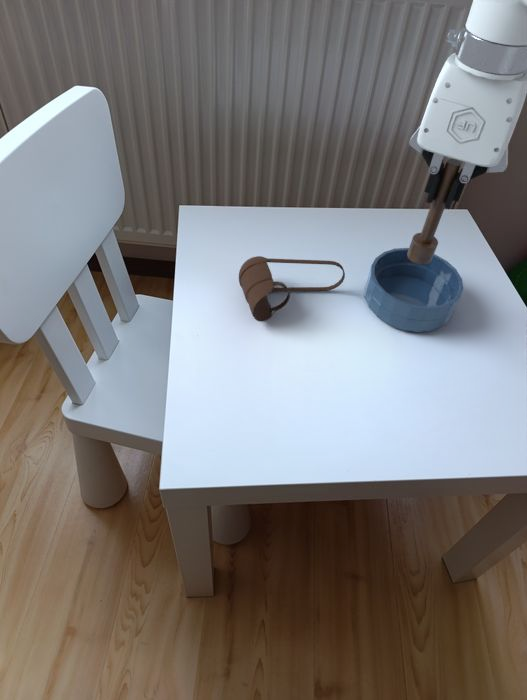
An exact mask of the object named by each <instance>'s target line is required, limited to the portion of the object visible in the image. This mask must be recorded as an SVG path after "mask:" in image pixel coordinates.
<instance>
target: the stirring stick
mask: <svg viewBox="0 0 527 700" xmlns="http://www.w3.org/2000/svg"><path fill="white" fill-rule="evenodd" d="M461 162H462V161H460V160H456V159H453V158H448V159H447V160H446V162H445V163H444V170H443V173H442V176H441V179H440V182H439V185H438V188H437V190H436V193H435V196H434V199H433V201H432V203H430V206H429V210H428V213H427V215H426V218H425V221H424V224H423V227H422V230H421V232H416V233H415V234H414V235H413V236H412V237H411V238H412V239H411V242H410V244H409V247H408V248H409V250H408V253H407V256H408V258H409V259H410V260H411V261H412V262H414V263H416V264H421V265H425V264H428V263H430V262H431V261H432V258H433V256H434V254H436V250H437V247H438V245H439V240H438V239H437V237H436V236H435V234H436V232H437V229H438V226H439V224H440V221H441V219H442V216H443V213H444V211H445V209H446V207H444V206H445V204H446V201H447V198H448V196H449V193H450V190H451V188H452V185H453V182H454V180H455V178H456V176H457V174H458V172H460V170H461V169H460V168H461V166H462V163H461Z"/></svg>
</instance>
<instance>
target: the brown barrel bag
mask: <svg viewBox="0 0 527 700" xmlns="http://www.w3.org/2000/svg"><path fill="white" fill-rule="evenodd" d="M268 263H270V264H271V263H272V264H275V263H276V264H299V265H300V264H301V265H302V264H303V265H329V266H336V267H337V268H340V270H341V271H342V276H341V278H340V279H339V280H338V281H337V282H335V283H334V284H332V285H329V286H296V287H295V286H293V287H292V286H291V287H288V286H287V285H286V284H285V283H284V282H280V281H274V279H273V274H272V271H271V268H270V267H269V265H268ZM345 273H346V272H345V269H344V267H343V266H342V265H341V263H339V262H337V261H335V260H334V261H333V260H321V259H320V260H319V259H295V258H267V257H265V256H260V255H259V256H258V255H257V256H252V257H250V258H248V259H247V260H245V261H244V262H243V263H242V265H241V266H240V269H239V271H238V282H239V286H240V287H241V290H242V292H243V295H244V299H245V301H246V303H247V304H248V307H249V309H250V312H251V316H252V317H253V318H254V319H255V320H256V321H257V322H265V321H267V320H270V319H271V318H272V317H273V312H277V311H279V310H280V309H282V308H283V307H285V306H286V305H287V304H288V302H289V301H290V297H291V293H290V292H326V291H332V290H334V289H336V288H339V286H341V285H342V283H344V280H345V277H346V274H345ZM271 292H287V294H286V297H285V299H283V301H282V302H280V303H279V304H277V305H275V306H272V305H271V303H270V300H269V298H268V295H269V294H270V293H271Z"/></svg>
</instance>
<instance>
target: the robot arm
mask: <svg viewBox="0 0 527 700" xmlns="http://www.w3.org/2000/svg"><path fill="white" fill-rule="evenodd" d="M445 43H447V44H451V45H452V47H454V50H456V51H455V52H454V53H451V54H450V55H449V56H448V57H447V59H446V61H445V62H444V64H443V65H442V68H441V70H440V73H439V74H438V77H437V78H436V81H435V84H434V87H433V89H432V92H431V94H430V97H429V100H428V103H427V106H426V107H425V108H426V109H425V111H424V114H423V117H422V120H421V123H420V126H418V128H417V129H416V131H415V132H414V133H413V134H412V135H411V137H410V139H409V140H408V145H409V146H410V147H411V148H412V149H414V150H415V151H417V152H418V153H420V154H421V155H422V157H423V159H424V162H425V163H426V164H427V167H428V172H429V176H428V180H427V182H426V185H425V188H424V191H423V192H424V193H427V194H428V195H427V198H426V201H425V203H427V204H432V201H433V199H434V196H435V193H436V190H437V188H438V185H439V182H440V179H441V176H442V173H443V170H444V167H445V163H444V161H445V158H448V159H456V160H458V161H460V162H463V163H464V165H463V168H461V169H459V171H458V174H457V176H456V178H455V180H454V182H453V185H452V188H451V190H450V193H449V196H448V198H447V201H446V204H445V206H444V207H445V209H446V210H450V209H451V206H452V204H453V202H457V203H459V201H460V200H461V196H462V193H463V192H464V189H465V185H466V184H468V183H469V181H471V180H473V179H475V178H477V177H479V176H482V175H484V174H486V173H493V174H494V173H503V172H505V171H507V168H508V164H509V144H510V141H511V139H512V136H513V133H514V131H515V129H516V125H517V123H518V120H519V118H520V115H521V112H522V110H523V107H524V104H525V102H526V98H527V0H472V4H471V6H470V10H469V12H468V16H467V19H466V22H465V26H462V28H460V29H459V28H458V29H452V28H450V29H449V31H448V34H447V37H446V40H445Z"/></svg>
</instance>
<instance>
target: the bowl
mask: <svg viewBox="0 0 527 700" xmlns="http://www.w3.org/2000/svg"><path fill="white" fill-rule="evenodd" d="M408 250H409V247H399V248H392V249H389V250H386V251H384V252H382V253H380V254H379V255H377V256H376V257H375V258H374V259H373V262H372V264H371V265H370V268H369V273H368V276H367V279H366V283H365V286H364V300H365V302H366V304H367V307H368V308H369V310H370V311H371V312H372V313H373V314H374V315H375V317H377V318H378V319H380V320H381V321H382V322H384V323H385V324H387V325H389V326H391V327H393V328H396V329H398V330H401V331H405V332H413V333H415V332H416V333H421V332H431V331H434V330H437V329H440V328H442V327H444V326H445V325H446V324H447V323H448V322H449V321H450V320H451V318H452V316H453V314H454V312H455V310H456V308H457V305H458V303H459V301H460V299H461V297H462V294H463V292H464V282H463V278H462V276H461V275H460V273H459V271H458V270H457V269H456V267H454V266H453V265H452V264H451V263H450V262H449V261H448V260H446V259H445V258H442V257H441V256H439V255H438V254H436V253H434V256H433V258H432V261H431V262H430V263H428V264H425V265H421V264H416V263H414V262H412V261H411V260H410V259H409V258H408V256H407V253H408Z"/></svg>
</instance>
